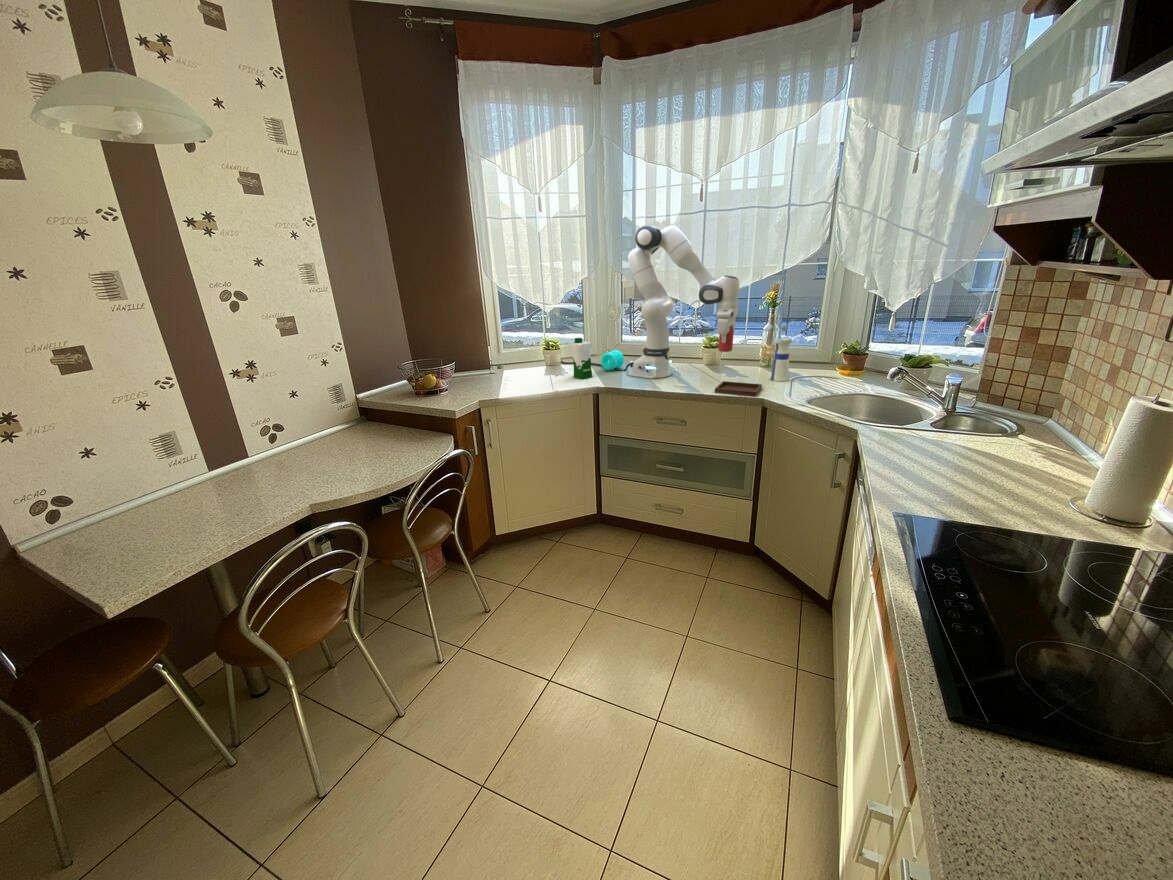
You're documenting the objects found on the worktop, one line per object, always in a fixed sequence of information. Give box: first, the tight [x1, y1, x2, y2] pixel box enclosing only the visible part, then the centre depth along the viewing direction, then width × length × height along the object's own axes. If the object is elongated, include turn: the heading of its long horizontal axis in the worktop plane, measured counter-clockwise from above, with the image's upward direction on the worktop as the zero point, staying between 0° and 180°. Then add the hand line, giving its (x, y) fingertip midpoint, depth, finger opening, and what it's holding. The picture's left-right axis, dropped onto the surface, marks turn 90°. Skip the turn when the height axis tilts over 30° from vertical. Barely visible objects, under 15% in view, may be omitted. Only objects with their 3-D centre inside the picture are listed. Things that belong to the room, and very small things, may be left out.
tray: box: [714, 380, 763, 398], centre depth 213 cm, size 18×14×2 cm
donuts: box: [600, 349, 625, 372], centre depth 262 cm, size 10×10×10 cm
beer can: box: [717, 326, 735, 353], centre depth 229 cm, size 7×7×12 cm
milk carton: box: [570, 337, 593, 380], centre depth 247 cm, size 9×9×20 cm
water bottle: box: [770, 325, 793, 382], centre depth 224 cm, size 8×9×25 cm
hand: (725, 341), depth 230 cm, fingers closed on beer can, 6 cm apart
